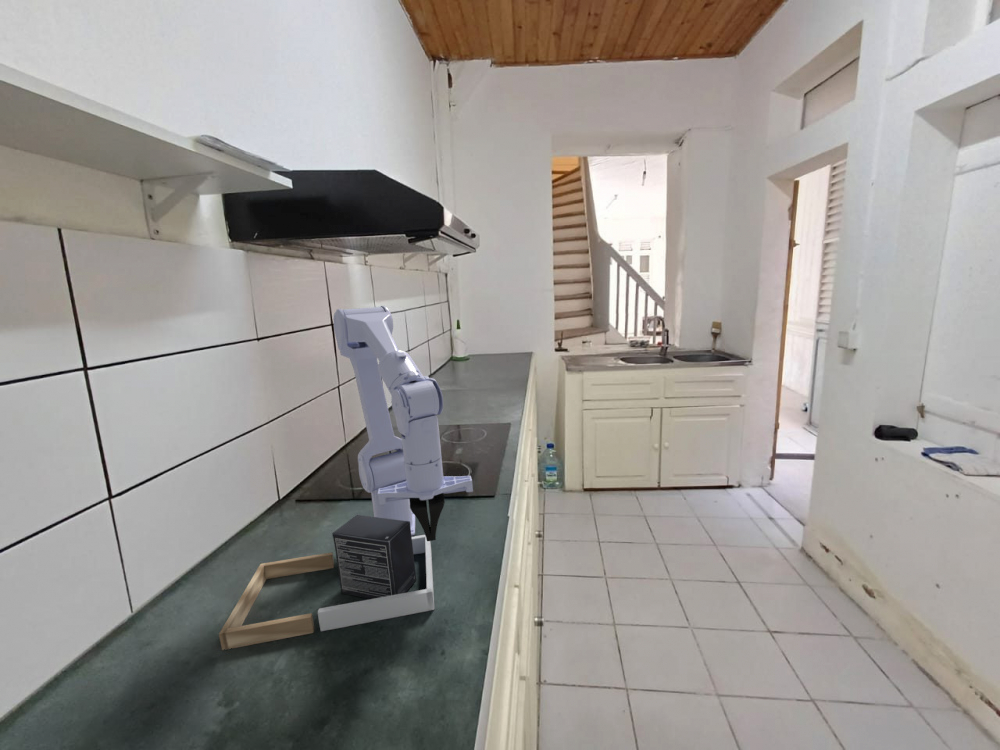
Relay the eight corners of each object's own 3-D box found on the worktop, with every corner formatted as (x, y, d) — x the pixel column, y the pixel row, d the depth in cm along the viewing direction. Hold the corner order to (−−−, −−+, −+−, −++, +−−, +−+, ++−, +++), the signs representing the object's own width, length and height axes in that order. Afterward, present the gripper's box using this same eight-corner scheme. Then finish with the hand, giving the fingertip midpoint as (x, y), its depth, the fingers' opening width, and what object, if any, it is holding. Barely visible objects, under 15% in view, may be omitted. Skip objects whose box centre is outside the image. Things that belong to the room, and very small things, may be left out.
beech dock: (263, 576, 72) (260, 563, 72) (334, 565, 74) (332, 552, 74) (222, 650, 57) (218, 634, 57) (313, 632, 59) (310, 617, 59)
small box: (419, 578, 69) (412, 519, 67) (397, 606, 63) (389, 542, 61) (365, 568, 73) (357, 512, 71) (339, 593, 67) (330, 533, 65)
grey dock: (340, 564, 74) (338, 548, 74) (431, 548, 77) (429, 533, 77) (320, 631, 59) (317, 612, 59) (434, 609, 62) (432, 591, 61)
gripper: (372, 474, 61) (383, 559, 63) (472, 461, 63) (479, 543, 66) (376, 456, 67) (386, 534, 70) (467, 445, 70) (473, 520, 73)
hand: (431, 537), depth 68 cm, fingers closed
